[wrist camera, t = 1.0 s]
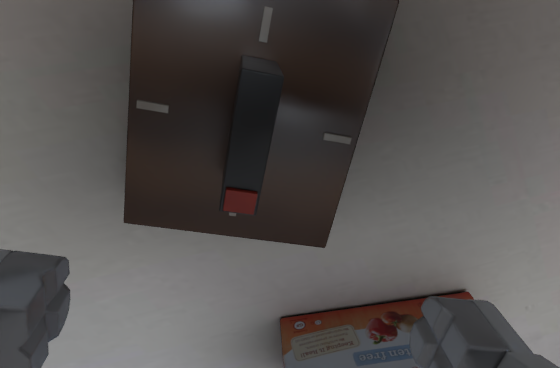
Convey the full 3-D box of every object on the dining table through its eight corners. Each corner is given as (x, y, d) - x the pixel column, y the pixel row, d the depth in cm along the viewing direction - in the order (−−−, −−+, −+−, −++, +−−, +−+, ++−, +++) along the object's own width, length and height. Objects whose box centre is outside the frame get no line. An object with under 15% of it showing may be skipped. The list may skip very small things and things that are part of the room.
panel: (151, -55, 18) (133, -64, 15) (378, -1, 20) (401, -1, 17) (137, 196, 23) (122, 224, 20) (316, 221, 25) (326, 250, 22)
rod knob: (241, 54, 17) (241, 68, 14) (277, 61, 17) (285, 77, 14) (222, 177, 20) (218, 214, 16) (254, 181, 20) (256, 219, 17)
